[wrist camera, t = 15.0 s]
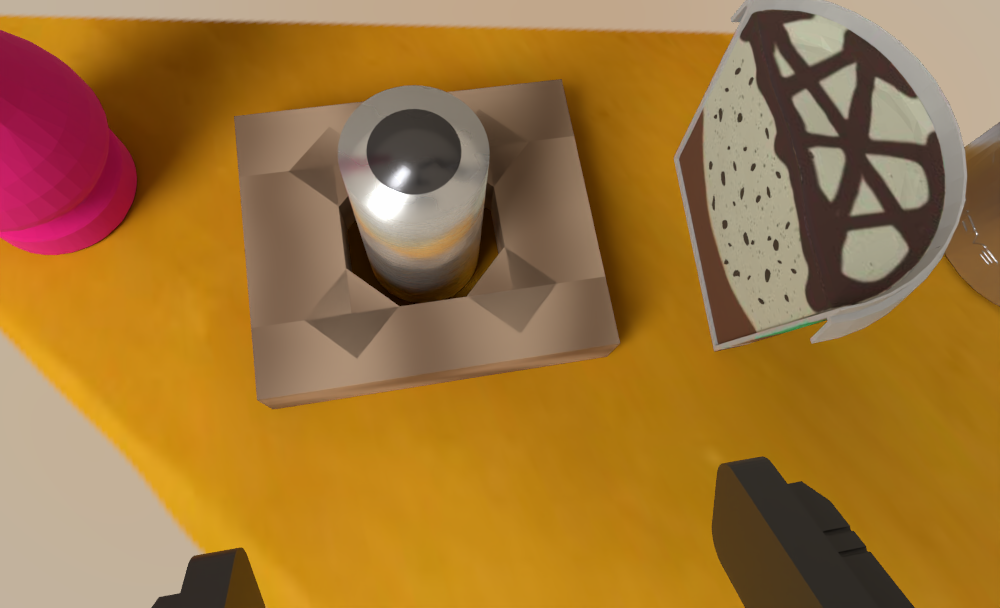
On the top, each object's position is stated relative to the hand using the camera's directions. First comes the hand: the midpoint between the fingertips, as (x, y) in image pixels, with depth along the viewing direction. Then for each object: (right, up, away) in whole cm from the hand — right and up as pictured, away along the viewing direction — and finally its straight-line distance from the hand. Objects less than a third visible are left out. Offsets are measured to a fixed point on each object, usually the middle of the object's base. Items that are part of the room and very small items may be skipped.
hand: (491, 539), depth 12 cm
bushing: (-3, +6, +19) cm, 21 cm away
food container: (+12, +7, +21) cm, 25 cm away
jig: (-3, +6, +19) cm, 21 cm away
